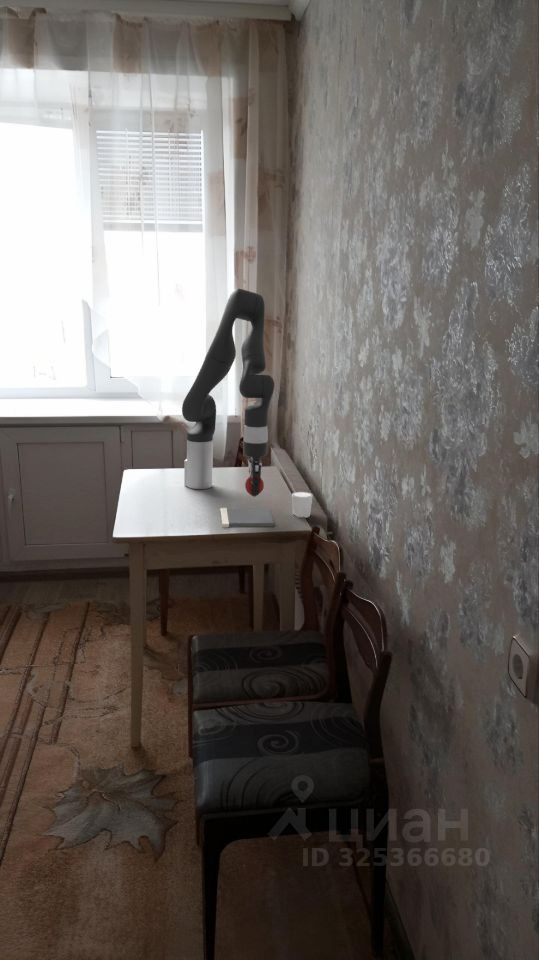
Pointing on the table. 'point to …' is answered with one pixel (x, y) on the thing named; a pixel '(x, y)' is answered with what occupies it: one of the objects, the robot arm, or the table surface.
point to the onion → (249, 485)
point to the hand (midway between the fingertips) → (254, 491)
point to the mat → (246, 517)
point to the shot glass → (301, 503)
